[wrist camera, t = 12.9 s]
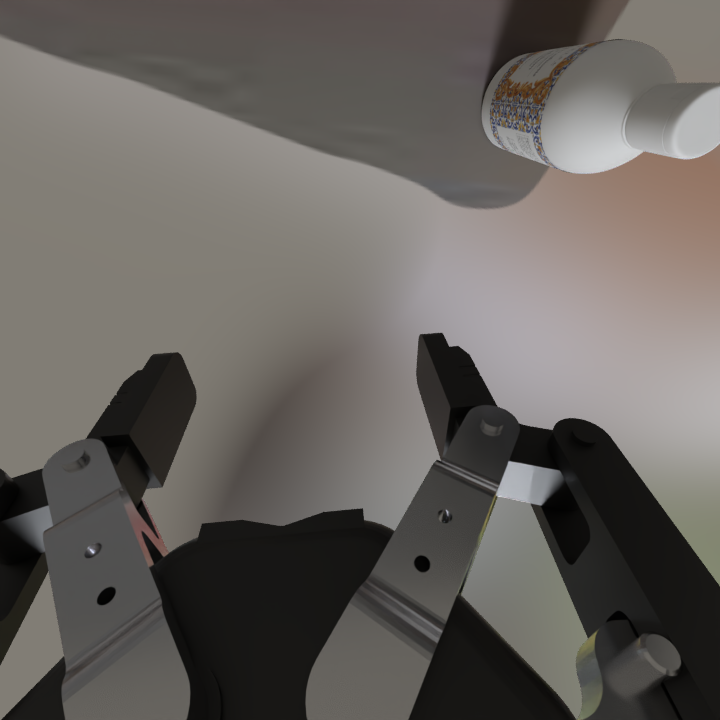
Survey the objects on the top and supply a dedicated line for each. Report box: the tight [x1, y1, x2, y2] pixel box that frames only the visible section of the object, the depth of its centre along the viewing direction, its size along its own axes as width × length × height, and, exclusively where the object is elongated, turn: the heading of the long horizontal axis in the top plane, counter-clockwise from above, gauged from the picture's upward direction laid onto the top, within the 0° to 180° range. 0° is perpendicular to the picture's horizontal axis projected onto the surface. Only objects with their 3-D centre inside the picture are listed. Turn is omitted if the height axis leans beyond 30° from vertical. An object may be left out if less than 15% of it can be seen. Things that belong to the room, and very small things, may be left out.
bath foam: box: [482, 39, 720, 174], centre depth 24 cm, size 7×7×20 cm
